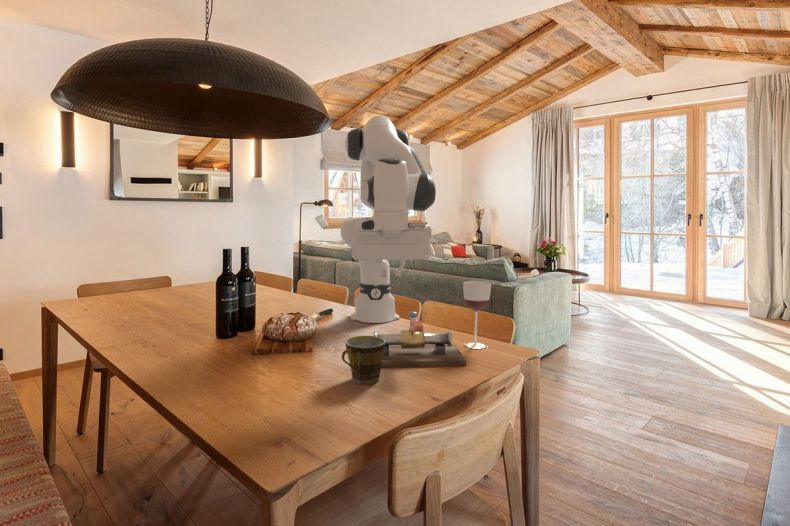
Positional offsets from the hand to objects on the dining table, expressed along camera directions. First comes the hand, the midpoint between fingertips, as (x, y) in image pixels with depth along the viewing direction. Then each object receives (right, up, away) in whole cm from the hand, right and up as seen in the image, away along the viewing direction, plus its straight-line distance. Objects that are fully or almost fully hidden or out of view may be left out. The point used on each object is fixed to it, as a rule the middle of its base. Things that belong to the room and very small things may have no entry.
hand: (390, 277), depth 117 cm
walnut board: (+6, -24, +13) cm, 28 cm away
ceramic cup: (-7, -26, -4) cm, 27 cm away
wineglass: (+26, -23, +25) cm, 43 cm away
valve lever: (+7, -15, +7) cm, 18 cm away
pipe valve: (+6, -22, +13) cm, 27 cm away
